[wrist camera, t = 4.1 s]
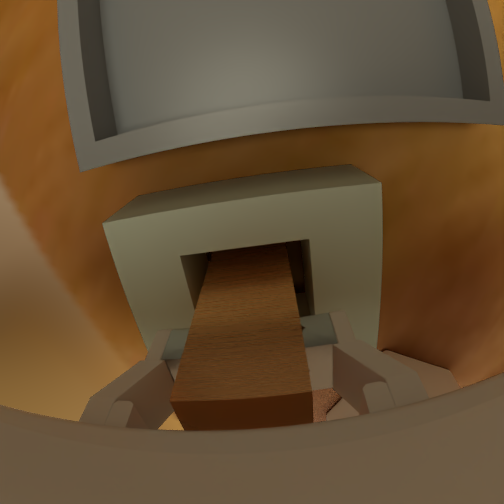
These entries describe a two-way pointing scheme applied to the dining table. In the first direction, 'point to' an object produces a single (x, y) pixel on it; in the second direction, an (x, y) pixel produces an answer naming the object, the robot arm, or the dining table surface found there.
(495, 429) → the robot arm
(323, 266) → the socket block
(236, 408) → the pin
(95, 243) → the dining table surface
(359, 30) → the tray
